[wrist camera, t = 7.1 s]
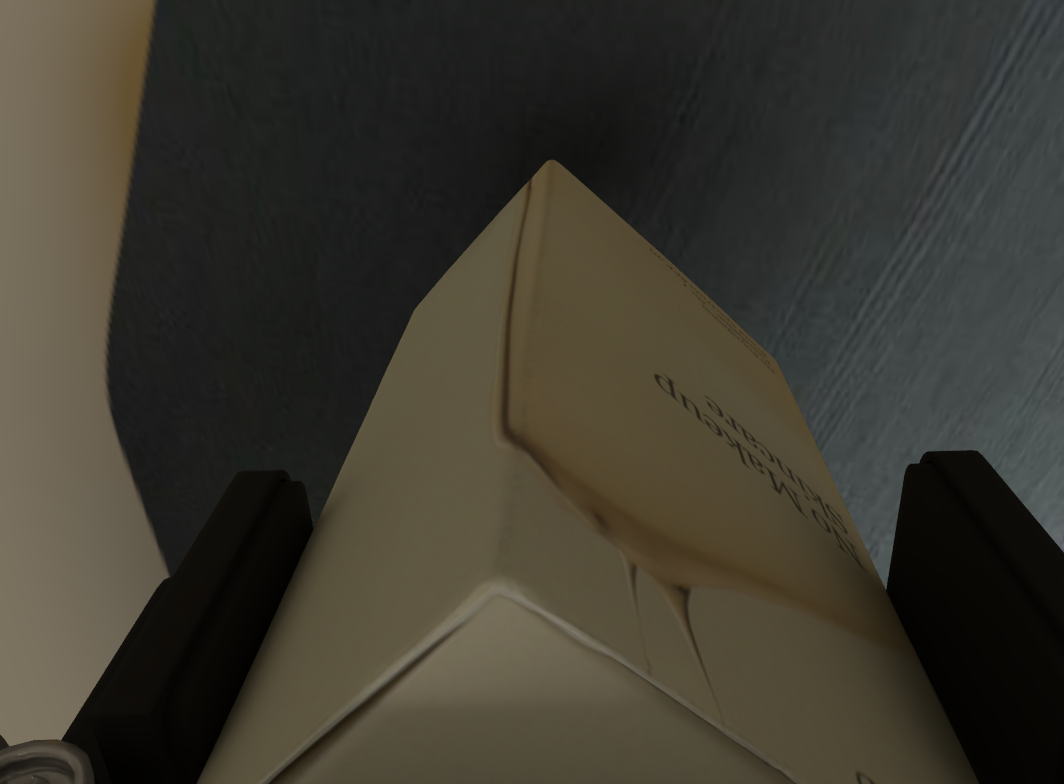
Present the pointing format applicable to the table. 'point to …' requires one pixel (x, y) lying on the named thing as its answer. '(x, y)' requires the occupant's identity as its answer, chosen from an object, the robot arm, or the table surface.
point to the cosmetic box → (583, 552)
